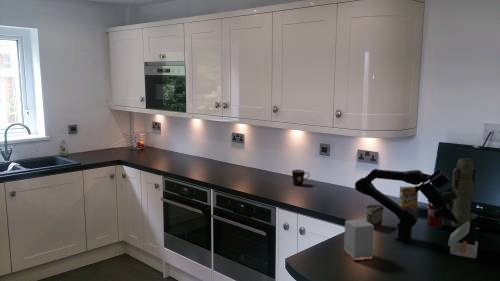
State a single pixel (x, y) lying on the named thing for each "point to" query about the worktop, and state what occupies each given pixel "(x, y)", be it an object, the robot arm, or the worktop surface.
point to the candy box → (408, 198)
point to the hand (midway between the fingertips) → (457, 222)
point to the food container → (374, 215)
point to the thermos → (463, 190)
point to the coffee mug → (298, 177)
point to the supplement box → (358, 238)
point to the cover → (459, 233)
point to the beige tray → (464, 249)
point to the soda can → (433, 218)
